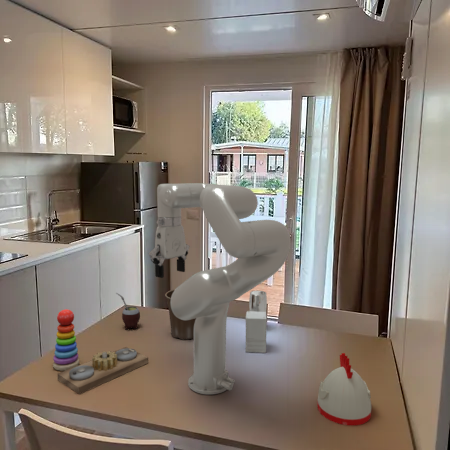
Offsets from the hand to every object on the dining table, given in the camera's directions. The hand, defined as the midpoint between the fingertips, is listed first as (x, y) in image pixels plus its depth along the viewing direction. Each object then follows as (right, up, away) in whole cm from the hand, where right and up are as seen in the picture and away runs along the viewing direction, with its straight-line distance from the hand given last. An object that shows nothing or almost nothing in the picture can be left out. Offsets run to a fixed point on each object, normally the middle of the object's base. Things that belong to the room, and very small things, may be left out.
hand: (170, 274), depth 134 cm
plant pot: (+3, -26, +26) cm, 37 cm away
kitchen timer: (+50, -34, -24) cm, 65 cm away
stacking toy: (-34, -30, -1) cm, 45 cm away
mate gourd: (-20, -25, +31) cm, 45 cm away
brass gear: (-20, -28, -5) cm, 35 cm away
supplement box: (+29, -28, +13) cm, 42 cm away
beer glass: (+31, -26, +31) cm, 51 cm away
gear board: (-20, -30, -5) cm, 36 cm away
